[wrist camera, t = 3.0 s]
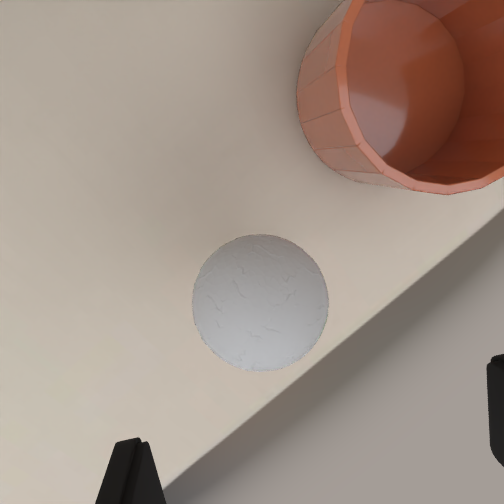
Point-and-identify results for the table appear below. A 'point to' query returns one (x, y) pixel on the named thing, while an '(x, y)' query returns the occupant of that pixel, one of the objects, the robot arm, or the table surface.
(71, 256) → the table surface
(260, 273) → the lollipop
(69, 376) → the table surface
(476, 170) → the pen pot
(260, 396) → the table surface
